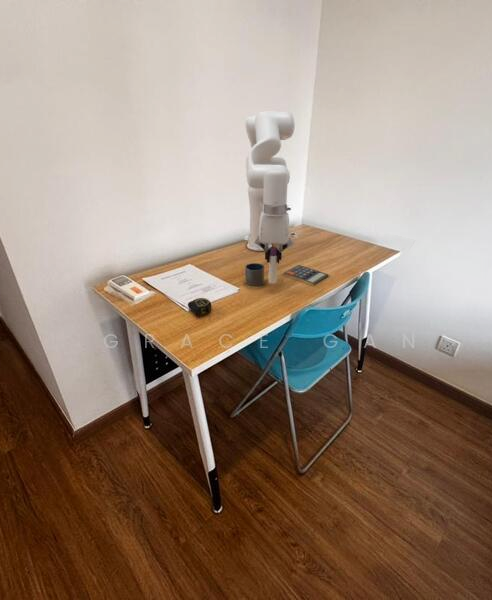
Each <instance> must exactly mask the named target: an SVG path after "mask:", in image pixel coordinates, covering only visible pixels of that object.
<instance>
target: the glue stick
mask: <svg viewBox="0 0 492 600" xmlns="http://www.w3.org/2000/svg"><path fill="white" fill-rule="evenodd" d="M278 249H279V247H277V246H272V247H270V248H269V262H268V283H269V284H270V285H274V284H275V285H276V284H277V282H278V263H277V257H278Z"/></svg>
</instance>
